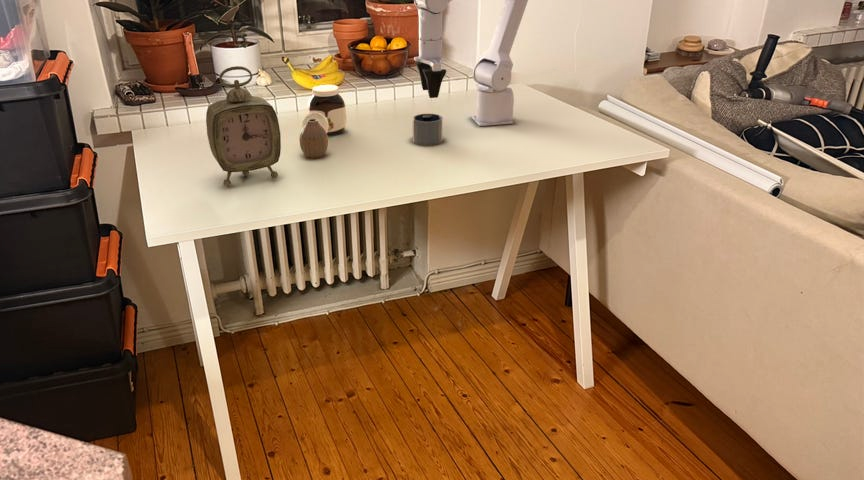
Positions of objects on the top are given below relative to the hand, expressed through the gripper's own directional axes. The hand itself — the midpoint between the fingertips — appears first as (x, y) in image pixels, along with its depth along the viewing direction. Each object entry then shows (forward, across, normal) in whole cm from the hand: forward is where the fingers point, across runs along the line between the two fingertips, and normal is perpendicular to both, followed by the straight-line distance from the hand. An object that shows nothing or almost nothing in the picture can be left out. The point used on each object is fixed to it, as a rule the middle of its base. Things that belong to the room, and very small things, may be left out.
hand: (430, 93), depth 178 cm
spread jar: (+11, -6, -27) cm, 30 cm away
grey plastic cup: (+10, +6, -2) cm, 12 cm away
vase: (+11, +10, -31) cm, 34 cm away
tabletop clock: (+11, +22, -47) cm, 53 cm away
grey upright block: (+10, +6, -2) cm, 12 cm away
